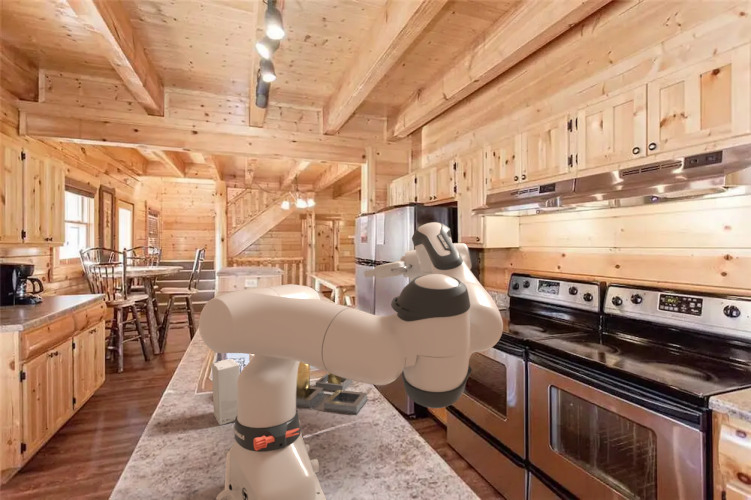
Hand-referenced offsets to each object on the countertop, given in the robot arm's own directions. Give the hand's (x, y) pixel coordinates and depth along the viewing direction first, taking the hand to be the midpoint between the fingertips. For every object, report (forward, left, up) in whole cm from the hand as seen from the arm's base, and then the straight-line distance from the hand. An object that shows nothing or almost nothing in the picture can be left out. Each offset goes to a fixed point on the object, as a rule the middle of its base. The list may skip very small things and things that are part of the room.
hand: (370, 272), depth 114 cm
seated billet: (+9, +18, -37) cm, 43 cm away
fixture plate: (+4, +14, -38) cm, 41 cm away
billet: (+14, +5, -38) cm, 41 cm away
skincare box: (+12, +39, -39) cm, 56 cm away
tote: (+14, +5, -38) cm, 41 cm away
